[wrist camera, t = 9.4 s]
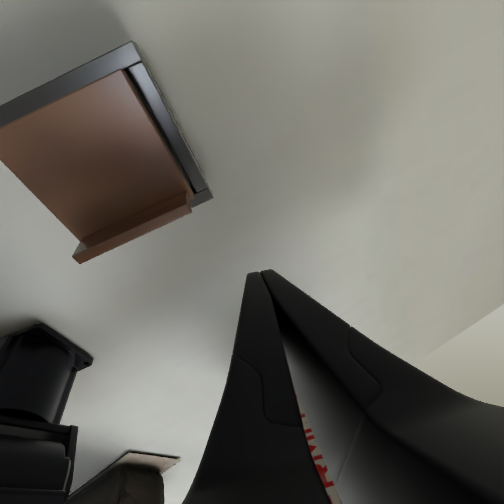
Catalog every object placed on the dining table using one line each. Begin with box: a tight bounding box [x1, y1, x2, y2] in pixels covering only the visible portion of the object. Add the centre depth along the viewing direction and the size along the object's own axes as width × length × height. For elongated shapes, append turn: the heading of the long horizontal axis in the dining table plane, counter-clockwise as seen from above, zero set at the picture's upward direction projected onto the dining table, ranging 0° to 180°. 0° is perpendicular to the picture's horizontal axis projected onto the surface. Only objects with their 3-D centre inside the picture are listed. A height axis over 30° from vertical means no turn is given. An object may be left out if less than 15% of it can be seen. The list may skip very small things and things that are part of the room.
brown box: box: [0, 41, 213, 264], centre depth 14 cm, size 9×9×6 cm
